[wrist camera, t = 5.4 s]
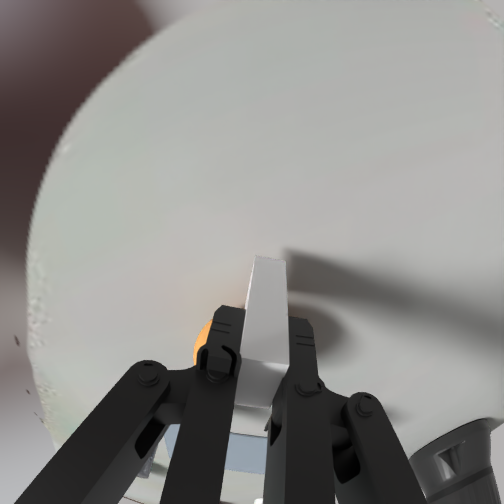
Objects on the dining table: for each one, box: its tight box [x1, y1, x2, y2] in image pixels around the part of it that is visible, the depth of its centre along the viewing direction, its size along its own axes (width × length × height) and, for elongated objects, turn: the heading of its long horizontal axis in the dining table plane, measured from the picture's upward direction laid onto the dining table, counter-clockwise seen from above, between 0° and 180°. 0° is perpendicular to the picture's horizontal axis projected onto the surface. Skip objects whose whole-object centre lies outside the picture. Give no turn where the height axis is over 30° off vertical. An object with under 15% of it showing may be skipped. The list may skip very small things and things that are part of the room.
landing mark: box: [164, 424, 268, 474], centre depth 28 cm, size 14×14×1 cm
